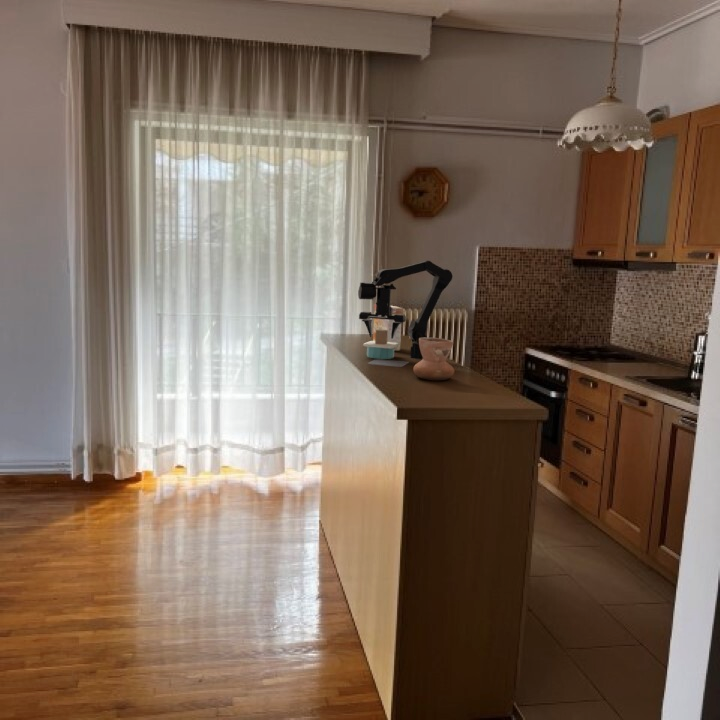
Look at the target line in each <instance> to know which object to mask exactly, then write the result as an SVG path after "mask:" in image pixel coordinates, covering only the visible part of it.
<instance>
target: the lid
mask: <svg viewBox="0 0 720 720" xmlns="http://www.w3.org/2000/svg"><path fill="white" fill-rule="evenodd" d="M387 334H388V330H379V329H378V330H376V338H375V341H373V340H370V341H367V342H364V343H363V344H362V347H366V348H367V347H378V348H389V349H392V348H394V347H396V346H398V343H392V342H387Z"/></svg>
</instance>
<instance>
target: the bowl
mask: <svg viewBox="0 0 720 720" xmlns="http://www.w3.org/2000/svg"><path fill="white" fill-rule="evenodd" d="M366 356H367V357H368V358H370V359H382V360H391V359H394V357H395V351H394V348H392V349H389V348H378V347H367V346H366Z"/></svg>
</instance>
